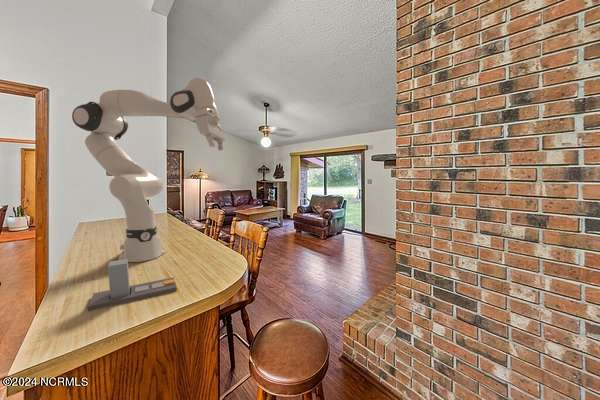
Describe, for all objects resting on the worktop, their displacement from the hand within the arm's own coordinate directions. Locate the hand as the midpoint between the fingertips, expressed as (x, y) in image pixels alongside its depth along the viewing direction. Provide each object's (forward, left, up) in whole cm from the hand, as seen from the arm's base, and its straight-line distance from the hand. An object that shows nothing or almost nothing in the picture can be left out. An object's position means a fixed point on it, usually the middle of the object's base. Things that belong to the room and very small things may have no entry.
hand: (217, 148), depth 105 cm
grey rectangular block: (+11, -39, -49) cm, 64 cm away
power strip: (+12, -35, -50) cm, 62 cm away
